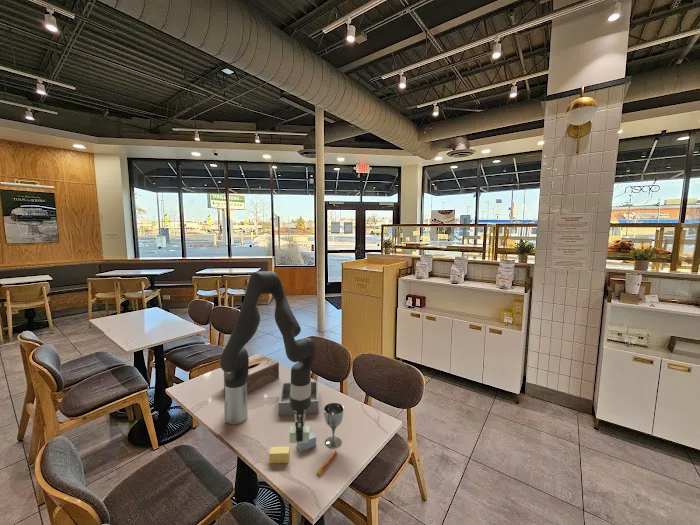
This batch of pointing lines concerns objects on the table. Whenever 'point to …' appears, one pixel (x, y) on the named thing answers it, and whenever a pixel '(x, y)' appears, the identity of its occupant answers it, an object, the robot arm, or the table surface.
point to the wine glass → (333, 423)
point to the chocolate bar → (327, 463)
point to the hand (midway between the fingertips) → (299, 436)
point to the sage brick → (293, 435)
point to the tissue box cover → (260, 373)
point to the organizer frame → (285, 406)
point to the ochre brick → (279, 454)
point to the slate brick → (307, 445)
